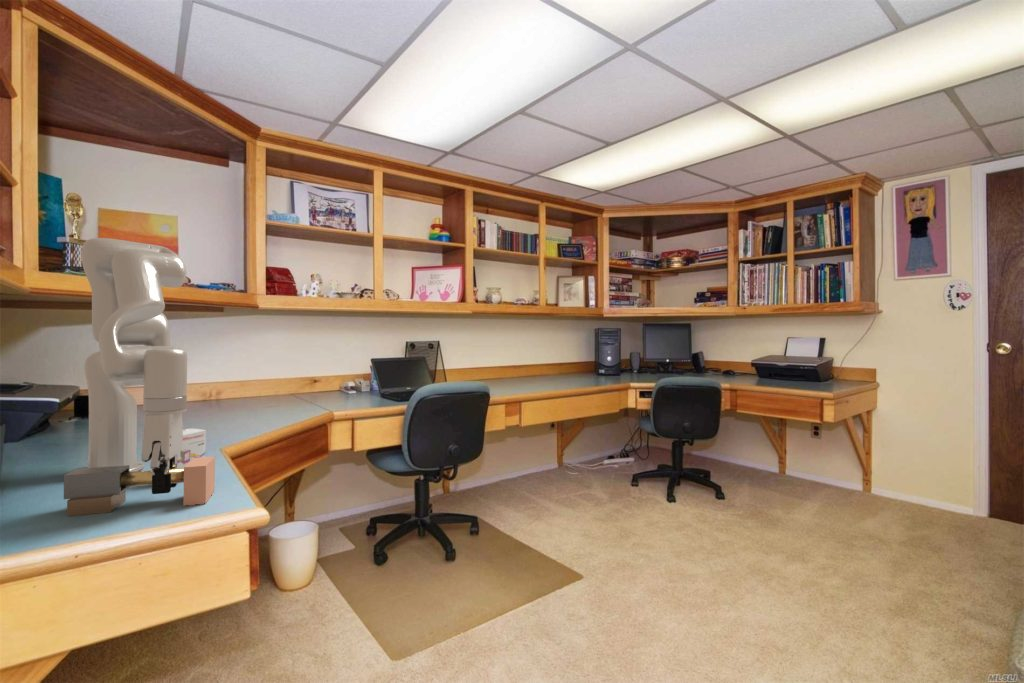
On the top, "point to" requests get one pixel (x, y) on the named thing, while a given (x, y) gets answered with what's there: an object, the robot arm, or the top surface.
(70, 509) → the grey block
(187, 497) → the socket
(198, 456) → the ink box
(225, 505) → the top surface
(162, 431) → the robot arm
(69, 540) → the top surface
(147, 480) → the tube
